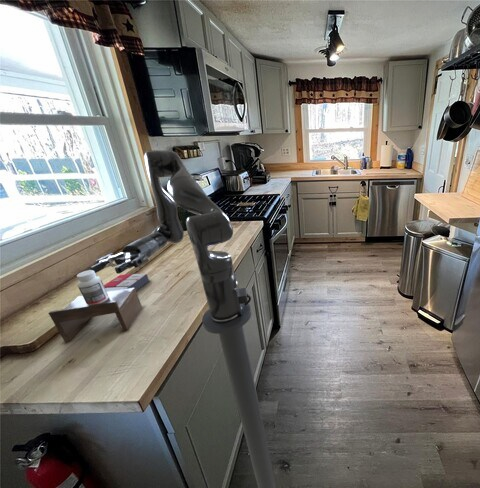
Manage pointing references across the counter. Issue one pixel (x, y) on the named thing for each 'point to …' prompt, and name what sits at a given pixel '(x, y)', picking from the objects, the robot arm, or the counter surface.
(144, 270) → the counter surface
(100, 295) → the pill bottle
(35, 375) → the counter surface
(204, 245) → the robot arm
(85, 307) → the spice shelf
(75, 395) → the counter surface
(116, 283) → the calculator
